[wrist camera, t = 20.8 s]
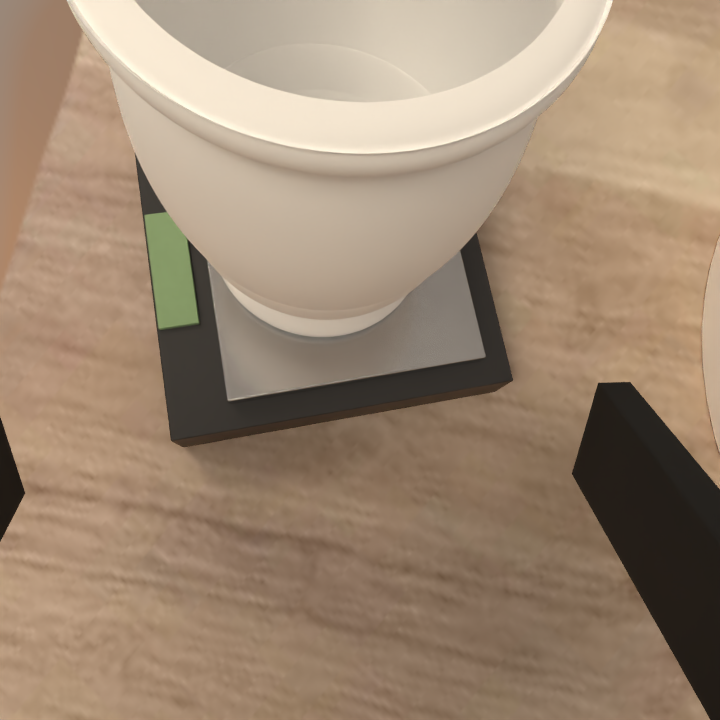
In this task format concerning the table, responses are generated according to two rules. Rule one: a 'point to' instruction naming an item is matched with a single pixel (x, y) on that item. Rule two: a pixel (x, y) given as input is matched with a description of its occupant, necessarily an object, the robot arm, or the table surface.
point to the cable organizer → (712, 342)
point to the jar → (334, 133)
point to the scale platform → (348, 341)
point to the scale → (226, 421)
